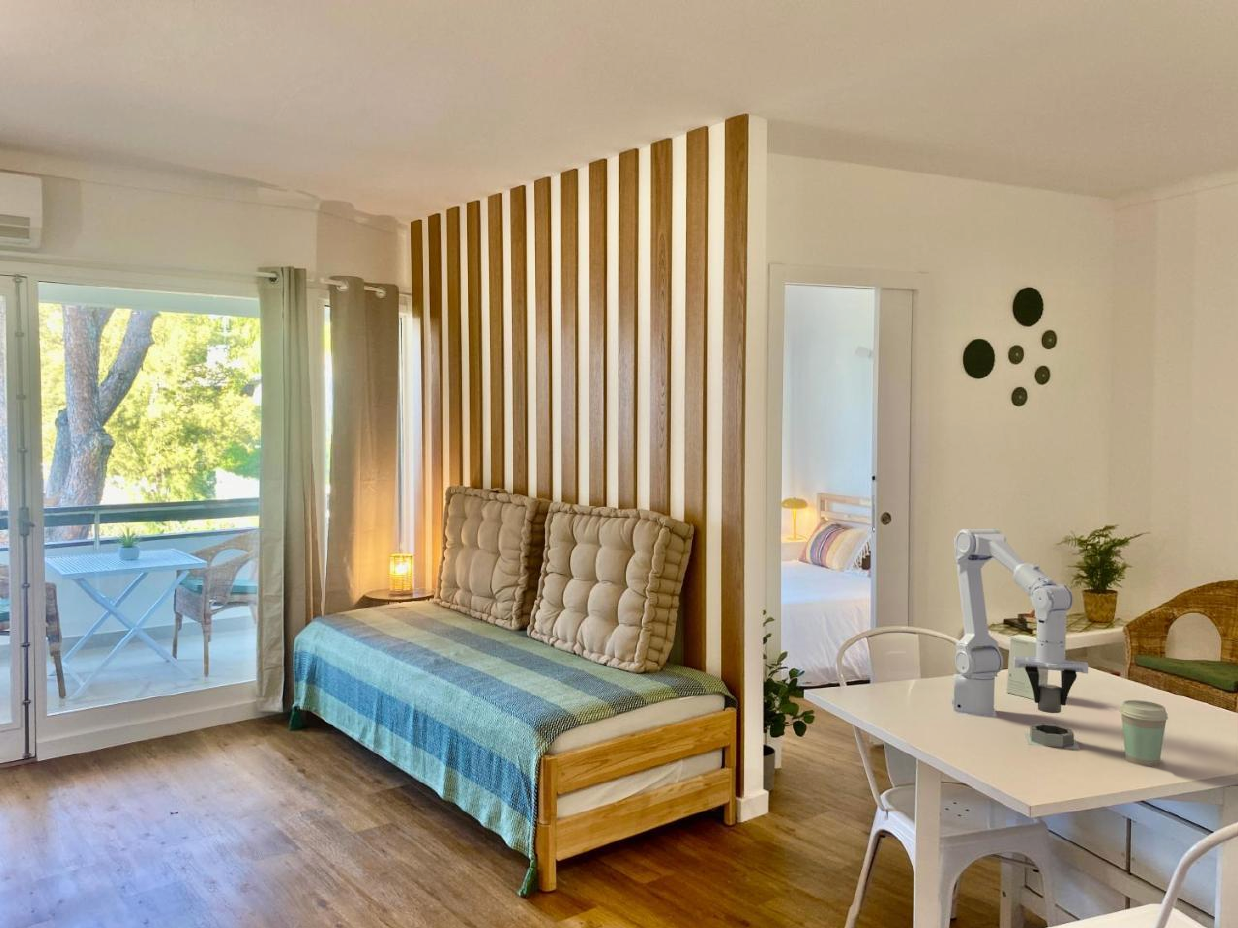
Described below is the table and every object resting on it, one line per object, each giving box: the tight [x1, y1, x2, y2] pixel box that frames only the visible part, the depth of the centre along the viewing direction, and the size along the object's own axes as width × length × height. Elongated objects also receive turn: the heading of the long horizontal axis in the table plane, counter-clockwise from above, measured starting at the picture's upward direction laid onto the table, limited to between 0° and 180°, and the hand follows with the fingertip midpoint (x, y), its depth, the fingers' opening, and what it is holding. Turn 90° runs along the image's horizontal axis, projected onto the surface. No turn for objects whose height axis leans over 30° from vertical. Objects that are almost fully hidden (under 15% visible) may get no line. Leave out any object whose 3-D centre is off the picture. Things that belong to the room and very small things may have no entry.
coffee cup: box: [1119, 699, 1169, 767], centre depth 188 cm, size 9×8×12 cm
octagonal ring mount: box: [1029, 722, 1075, 749], centre depth 200 cm, size 8×8×2 cm
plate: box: [1024, 732, 1081, 751], centre depth 200 cm, size 10×8×1 cm
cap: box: [1037, 683, 1062, 714], centre depth 201 cm, size 5×5×5 cm
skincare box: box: [1005, 634, 1049, 700], centre depth 239 cm, size 8×6×15 cm
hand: (1049, 703), depth 201 cm, fingers closed on cap, 5 cm apart
